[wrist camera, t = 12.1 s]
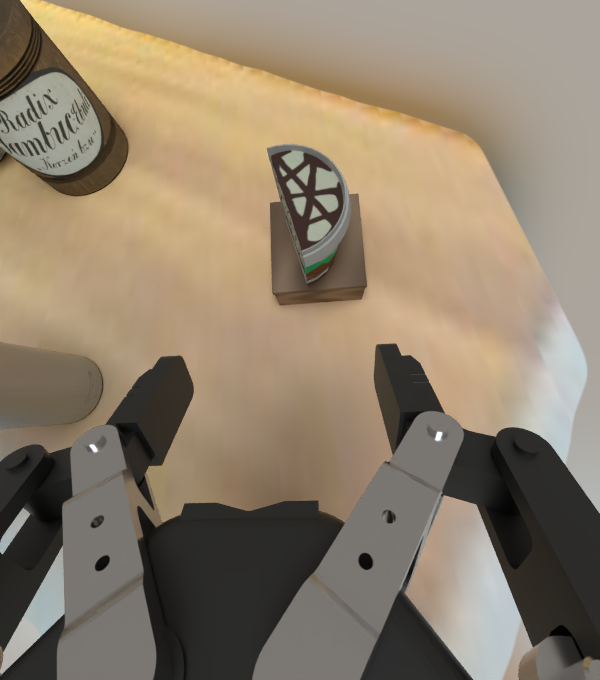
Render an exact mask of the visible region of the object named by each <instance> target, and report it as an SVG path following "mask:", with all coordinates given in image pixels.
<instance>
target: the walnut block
mask: <svg viewBox="0 0 600 680" xmlns="http://www.w3.org/2000/svg"><path fill="white" fill-rule="evenodd" d="M349 196H350V201H351V218H350V222H349V226H348V228H347V231H346V233H345V235H344V237H343V238H342V240H341V241H340V243H339V244H338V248H337V253H336V256H335V260H334V263H333V265H332V266H331V268H330V269H329V271H328V272H327V274H325V275H324V276H323V277H322V278H320V279H319V280H318V281H316V282H314V283H312V284H309V285H307V282H306V279H305V276H304V273H303V270H302V267H301V264H300V261H299V258H298V255H297V252H296V249H295V246H294V243H293V240H292V237H291V234H290V231H289V228H288V225H287V222H286V219H285V216H284V212H283V208H282V204H281V202H273V203H270V221H271V261H272V293H273V295H275V296H276V298H277V300H278V302H279V304H280V305H287V304H301V303H315V302H328V301H342V300H356V299H362V296H363V293H364V289H365V288H366V287H367V282H366V271H365V260H364V250H363V239H362V228H361V217H360V206H359V196H358V194H350V195H349Z"/></svg>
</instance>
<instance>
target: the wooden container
mask: <svg viewBox="0 0 600 680" xmlns="http://www.w3.org/2000/svg"><path fill="white" fill-rule="evenodd" d="M0 148H2V149H3V150H4V151H6V152H7V153H8V154H9V155H11V156H12V157H13V158H14V159H16V160H17V161H18V162H20V163H21V164H22V165H23V166H25V167H26V168H27V169H29V170H30V171H31V172H33V173H35V174H36V175H37V176H38V177H40V178H41V179H42V180H44V181H45V182H46V183H48V184H49V185H50V186H52V187H53V188H54V189H56V190H57V191H59V192H61V193H64V194H67V195H75V196H77V195H85V194H89V193H92V192H95V191H97V190H99V189H101V188H103V187H104V186H106V185H107V184H108V183H110V182H111V181H112V180H113V179H114V178H115V177H116V175H117V174H118V173H119V172H120V170H121V168H122V167H123V165H124V163H125V160H126V156H127V151H128V144H127V139H126V136H125V134H124V132H123V130H122V129H121V128H120V126H119V125H118V124H117V122H116V121H115V120H114V118H113V117H112V116H111V114H110V113H109V112H108V111H107V109H106V108H105V106H104V105H103V104H102V103H101V101H100V100H99V99H98V97H97V96H96V95H95V94H94V92H93V91H92V90H91V88H90V87H89V86H88V85H87V83H86V82H85V81H84V80H83V78H82V77H81V76H80V75H79V73H78V72H77V71H76V70H75V69H74V67H73V66H72V65H71V64H70V62H69V61H68V60H67V59H66V58H65V56H64V55H63V54H62V53H61V51H60V50H59V49H58V48H57V46H56V45H55V44H54V43H53V41H52V40H51V39H50V38H49V37H48V35H47V34H46V33H45V32H44V30H43V29H42V28H41V27H40V26H39V24H38V23H37V22H36V21H35V20H34V18H33V17H32V16H31V14H30V13H29V12H28V11H27V9H26V8H25V6H24V5H23V4H22V3H21V1H20V0H0Z"/></svg>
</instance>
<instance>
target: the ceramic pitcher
mask: <svg viewBox="0 0 600 680" xmlns="http://www.w3.org/2000/svg"><path fill="white" fill-rule="evenodd" d="M5 153H6V151H4V150H3V149H2V148H0V160H1V159H2V157H3V156H4V154H5Z"/></svg>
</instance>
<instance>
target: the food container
mask: <svg viewBox="0 0 600 680" xmlns="http://www.w3.org/2000/svg"><path fill="white" fill-rule="evenodd" d="M267 150H268V155H269V160H270V162H271V166H272V170H273V173H274V177H275V181H276V185H277V189H278V193H279V196H280V200H281V204H282V208H283V212H284V216H285V219H286V222H287V225H288V228H289V231H290V234H291V237H292V240H293V243H294V246H295V249H296V252H297V255H298V258H299V261H300V264H301V267H302V270H303V273H304V276H305V279H306V282H307V285H309V284H312V283H314V282H316V281H318V280H319V279H320V278H322V277H323V276H324V275H325V274H327V272H328V271H329V269H330V268H331V266H332V265H333V263H334V260H335V256H336V253H337V248H338V244H339V243H340V241H341V240H342V238H343V237H344V235H345V233H346V231H347V228H348V226H349V222H350V218H351V201H350V196H349V192H348V188H347V185H346V181H345V179H344V177H343V175H342V174H341V172H340V171H339V169H338V168H337V166H336V165H335V164H334V162H332V161H331V160H330V159H329V158H328V157H327V156H326V155H324V154H323V153H321V152H319V151H317V150H315V149H313V148H310V147H307V146H303V145H296V144H283V145H276V146H272V147H268V148H267Z"/></svg>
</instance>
